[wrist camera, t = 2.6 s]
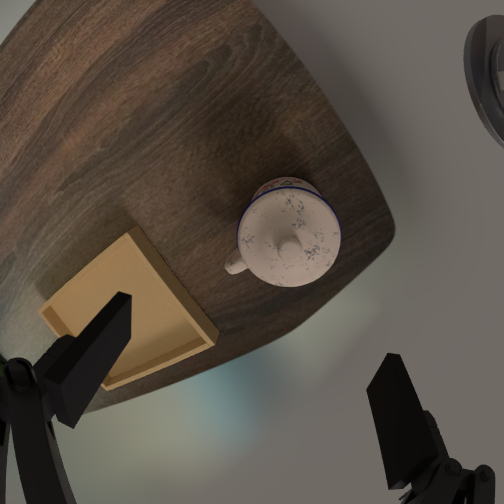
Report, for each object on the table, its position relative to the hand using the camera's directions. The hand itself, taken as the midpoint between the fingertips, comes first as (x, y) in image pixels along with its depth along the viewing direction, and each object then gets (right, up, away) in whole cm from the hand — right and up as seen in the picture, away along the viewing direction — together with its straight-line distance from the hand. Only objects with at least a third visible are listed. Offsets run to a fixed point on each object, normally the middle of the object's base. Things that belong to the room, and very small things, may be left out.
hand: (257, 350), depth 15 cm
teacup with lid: (+3, +8, +21) cm, 23 cm away
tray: (-19, -5, +28) cm, 34 cm away
